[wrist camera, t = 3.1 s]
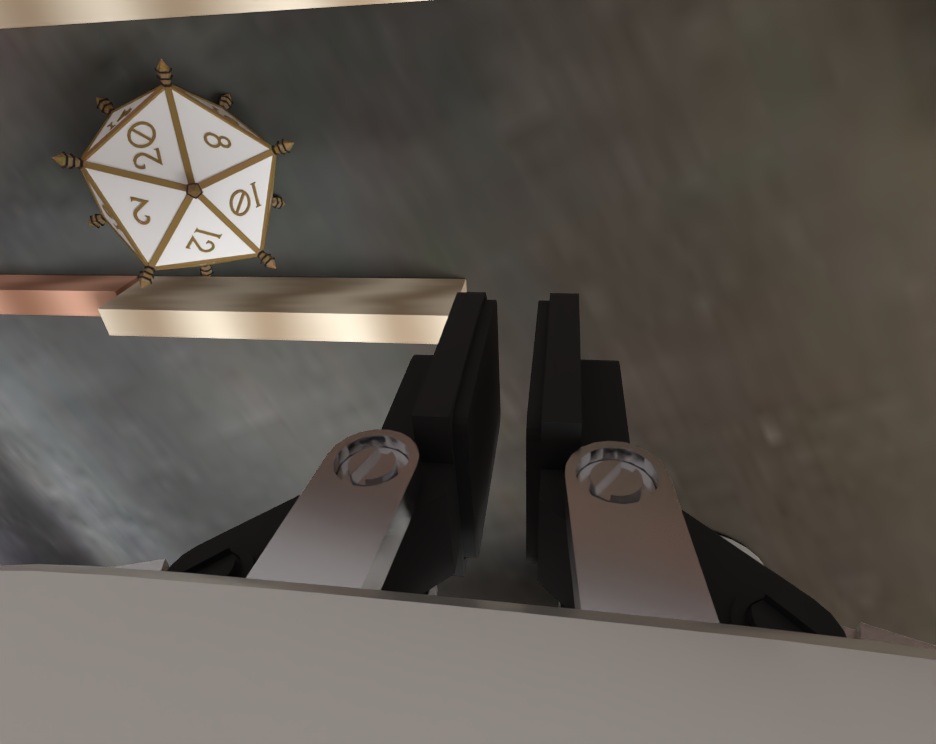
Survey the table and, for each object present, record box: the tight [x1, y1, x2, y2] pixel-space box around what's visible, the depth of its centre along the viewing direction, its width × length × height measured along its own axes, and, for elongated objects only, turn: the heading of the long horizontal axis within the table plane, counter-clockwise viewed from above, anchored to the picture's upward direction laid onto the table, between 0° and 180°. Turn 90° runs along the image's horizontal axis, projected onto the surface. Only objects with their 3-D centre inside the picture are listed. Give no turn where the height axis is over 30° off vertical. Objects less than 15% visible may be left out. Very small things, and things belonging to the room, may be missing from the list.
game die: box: [51, 59, 294, 288], centre depth 25 cm, size 9×8×10 cm
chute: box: [0, 0, 467, 344], centre depth 27 cm, size 31×15×4 cm, turn 93°
